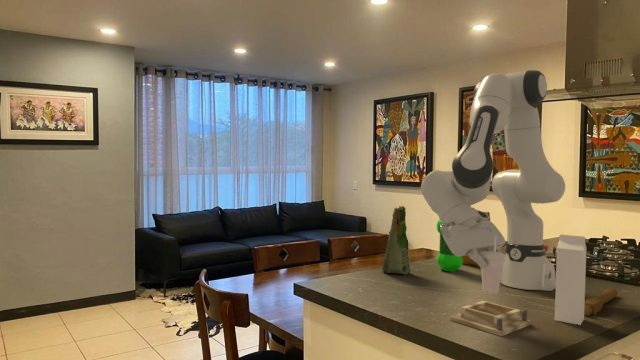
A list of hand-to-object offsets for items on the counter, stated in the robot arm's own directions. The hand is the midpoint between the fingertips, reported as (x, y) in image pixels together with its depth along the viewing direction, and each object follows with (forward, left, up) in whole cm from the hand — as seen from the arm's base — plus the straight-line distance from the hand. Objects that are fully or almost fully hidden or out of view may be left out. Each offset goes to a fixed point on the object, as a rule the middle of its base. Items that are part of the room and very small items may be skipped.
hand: (493, 264), depth 117 cm
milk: (-19, +10, -15) cm, 26 cm away
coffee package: (-62, -45, -15) cm, 78 cm away
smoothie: (0, -1, -7) cm, 7 cm away
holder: (0, -1, -15) cm, 15 cm away
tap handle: (-41, +10, -15) cm, 45 cm away
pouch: (-23, -53, -15) cm, 59 cm away
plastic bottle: (-44, -45, -15) cm, 64 cm away
